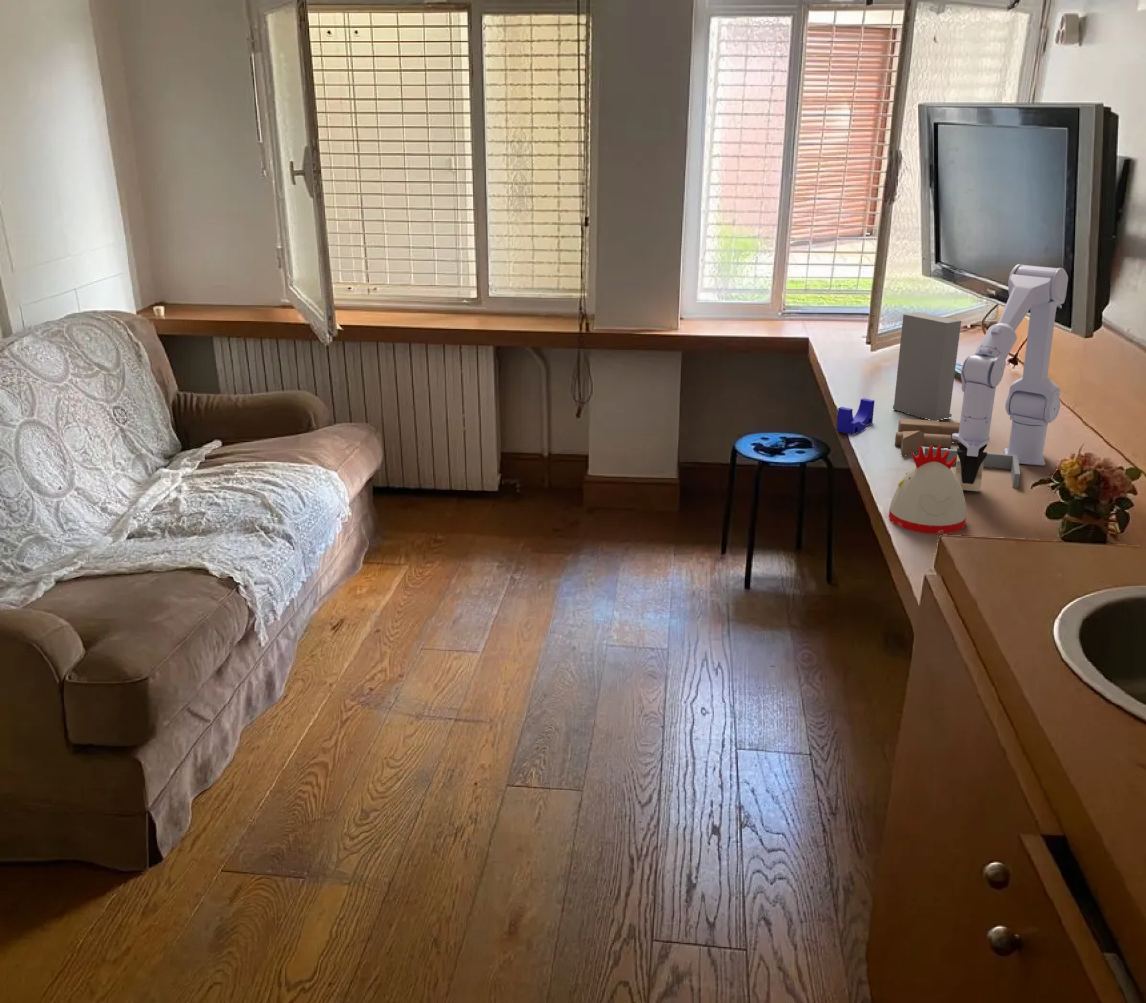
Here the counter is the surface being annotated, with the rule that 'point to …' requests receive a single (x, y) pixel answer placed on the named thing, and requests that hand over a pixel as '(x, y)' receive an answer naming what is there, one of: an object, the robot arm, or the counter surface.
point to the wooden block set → (924, 434)
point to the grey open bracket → (990, 462)
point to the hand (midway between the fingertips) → (967, 479)
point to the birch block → (977, 482)
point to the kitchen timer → (929, 496)
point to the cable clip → (855, 417)
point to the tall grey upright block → (926, 365)
